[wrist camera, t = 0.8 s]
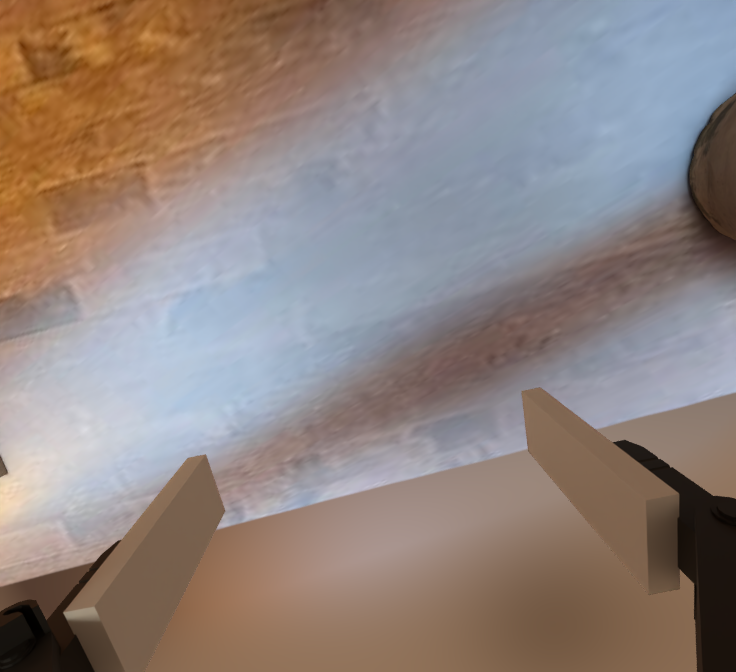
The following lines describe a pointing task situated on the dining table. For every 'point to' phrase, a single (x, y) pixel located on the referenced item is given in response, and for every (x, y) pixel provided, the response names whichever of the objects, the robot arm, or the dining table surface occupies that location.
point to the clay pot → (717, 169)
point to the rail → (2, 468)
